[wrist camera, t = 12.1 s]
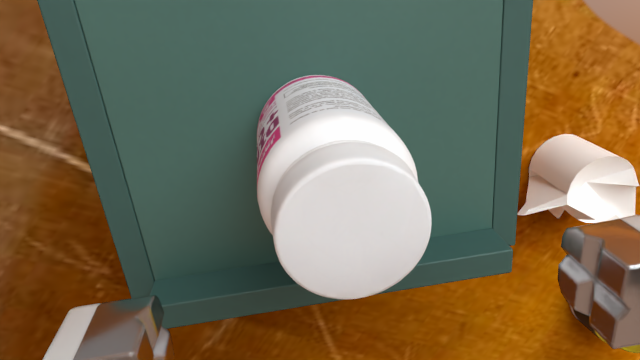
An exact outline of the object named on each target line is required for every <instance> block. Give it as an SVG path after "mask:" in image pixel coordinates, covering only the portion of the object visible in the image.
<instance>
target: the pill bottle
mask: <svg viewBox="0 0 640 360" xmlns="http://www.w3.org/2000/svg"><path fill="white" fill-rule="evenodd" d="M257 200H258V204H259V208H260V212H261V215H262V218H263V220H264V222H265V224H266V226H267V228H268V230H269V231H270V233H271V234H272V235H273V240H274V246H275V251H276V254H277V256H278V259H279V262H280V263H281V265H282V267H283V268H284V270H285V271H286V273H287V274H288V275H289V276H290V277H291V278H292V279H293V280H294V281H295V282H296V283H297V284H299V285H300V286H302V287H303V288H305V289H306V290H308V291H310V292H312V293H315V294H317V295H320V296H323V297H327V298H333V299H358V298H363V297H368V296H371V295H374V294H377V293H380V292H382V291H384V290H386V289H388V288H390V287H391V286H393V285H395V284H396V283H398V282H399V281H401V280H402V279H403V278H404V277H405V276H406V275H407V274H409V273H410V272H411V271H412V269H413V268H414V267H415V266H416V265H417V263H418V262H419V260H420V259H421V257H422V256H423V254H424V252H425V250H426V247H427V245H428V242H429V238H430V233H431V225H432V223H431V220H432V219H431V210H430V206H429V203H428V199H427V197H426V195H425V193H424V191H423V189H422V188H421V186H420V185H419V183H418V177H417V171H416V167H415V163H414V161H413V158H412V156H411V154H410V152H409V150H408V149H407V147H406V145H405V144H404V142H403V141H402V140H401V139H400V137H399V136H398V135H397V134H396V133H395V132H394V130H393V129H392V128H391V127H390V126H389V125H388V124H387V123H386V122H385V121H384V120H383V118H382V117H381V116H380V115H379V114H378V112H377V111H376V110H375V109H374V108H373V107H372V106H371V104H370V103H369V102H368V101H367V100H366V98H365V97H364V96H363V95H362V94H361V93H360V92H359V91H358V90H357V89H356V88H355V87H353V86H352V85H350V84H349V83H347V82H345V81H343V80H341V79H338V78H335V77H331V76H325V75H309V76H303V77H300V78H296V79H294V80H292V81H290V82H288V83H286V84H285V85H283V86H282V87H280V88H279V89H278V90H277V91H276V92H275V93H274V94H273V95H272V96H271V97H270V98H269V100H268V101H267V102H266V104H265V106H264V108H263V110H262V112H261V115H260V117H259V121H258V127H257Z"/></svg>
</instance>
